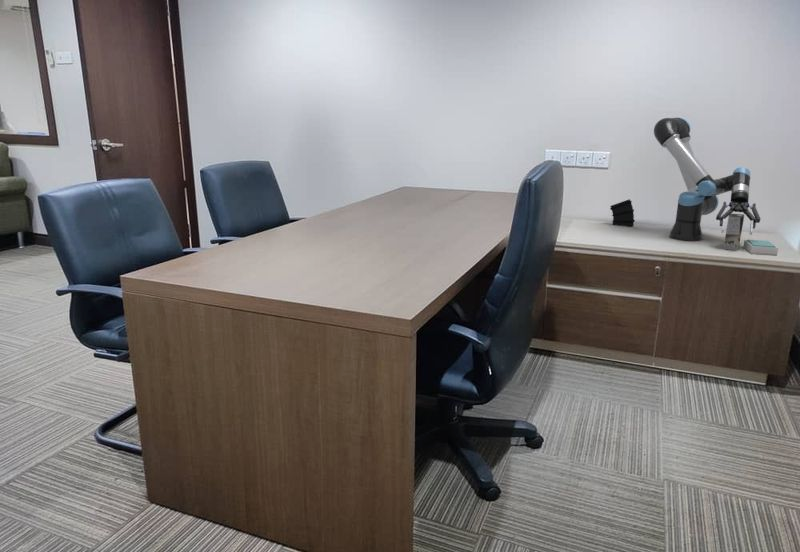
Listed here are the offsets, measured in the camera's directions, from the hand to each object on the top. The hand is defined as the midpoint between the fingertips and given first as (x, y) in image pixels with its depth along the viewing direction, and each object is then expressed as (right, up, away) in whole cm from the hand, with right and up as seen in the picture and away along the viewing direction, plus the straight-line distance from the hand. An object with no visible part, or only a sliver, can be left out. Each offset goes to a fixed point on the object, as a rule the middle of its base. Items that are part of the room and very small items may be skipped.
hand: (736, 232), depth 281 cm
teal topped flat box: (+11, -9, 0) cm, 14 cm away
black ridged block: (-33, +8, +57) cm, 67 cm away
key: (+11, -7, -1) cm, 13 cm away
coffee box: (0, -7, +6) cm, 9 cm away
